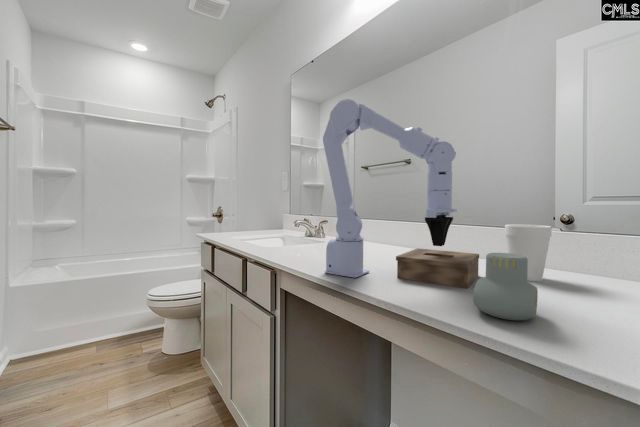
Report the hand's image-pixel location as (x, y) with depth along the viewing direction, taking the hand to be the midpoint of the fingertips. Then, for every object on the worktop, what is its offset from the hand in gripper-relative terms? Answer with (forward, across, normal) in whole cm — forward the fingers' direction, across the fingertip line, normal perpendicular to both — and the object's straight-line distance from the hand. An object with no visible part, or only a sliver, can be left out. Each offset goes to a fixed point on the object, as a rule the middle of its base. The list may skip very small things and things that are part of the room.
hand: (438, 245), depth 76 cm
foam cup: (+8, +12, -18) cm, 23 cm away
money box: (+8, 0, 0) cm, 8 cm away
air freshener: (+8, -20, -16) cm, 27 cm away
